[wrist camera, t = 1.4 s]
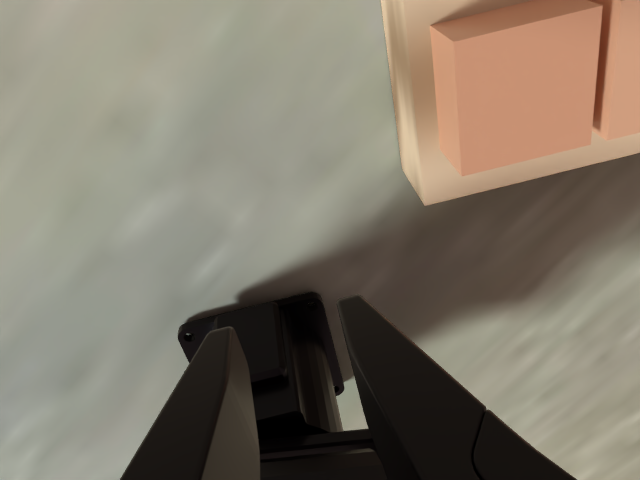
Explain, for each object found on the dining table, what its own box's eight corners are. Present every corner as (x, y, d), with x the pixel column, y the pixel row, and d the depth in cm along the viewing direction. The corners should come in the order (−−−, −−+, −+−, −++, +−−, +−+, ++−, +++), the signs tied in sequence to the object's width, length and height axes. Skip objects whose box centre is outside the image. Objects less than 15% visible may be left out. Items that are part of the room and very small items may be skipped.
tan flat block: (631, 112, 22) (684, 141, 19) (401, 169, 22) (424, 205, 19) (662, -126, 17) (735, -127, 15) (373, -56, 17) (398, -45, 15)
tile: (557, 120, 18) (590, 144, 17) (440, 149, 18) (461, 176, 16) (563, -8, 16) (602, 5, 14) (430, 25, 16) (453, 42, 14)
